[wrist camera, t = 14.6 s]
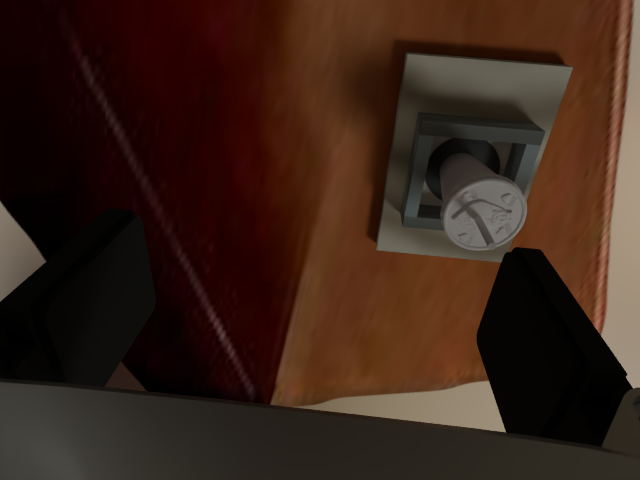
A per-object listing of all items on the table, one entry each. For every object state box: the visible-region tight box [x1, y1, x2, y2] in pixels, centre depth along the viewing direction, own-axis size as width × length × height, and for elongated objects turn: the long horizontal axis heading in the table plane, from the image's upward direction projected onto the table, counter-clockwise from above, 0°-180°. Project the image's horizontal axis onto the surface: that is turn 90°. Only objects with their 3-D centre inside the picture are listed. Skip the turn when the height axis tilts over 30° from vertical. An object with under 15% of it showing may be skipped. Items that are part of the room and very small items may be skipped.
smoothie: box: [440, 153, 527, 251], centre depth 35 cm, size 6×6×14 cm
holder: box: [376, 52, 573, 262], centre depth 40 cm, size 20×14×4 cm
